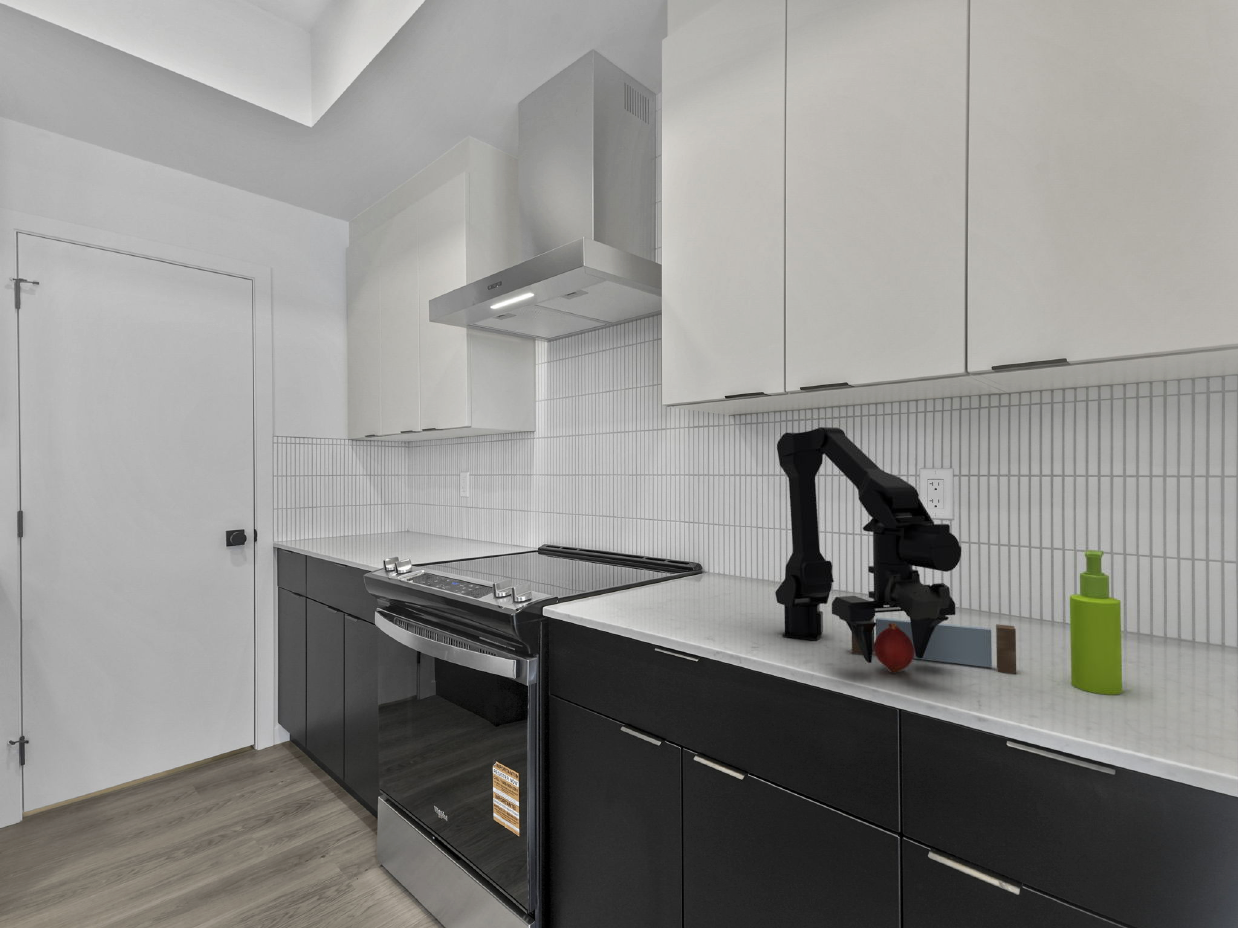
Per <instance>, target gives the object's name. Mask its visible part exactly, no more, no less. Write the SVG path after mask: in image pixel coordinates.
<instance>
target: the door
mask: <svg viewBox="0 0 1238 928" xmlns="http://www.w3.org/2000/svg"><path fill="white" fill-rule="evenodd" d="M871 621H873V622H875V623H877V624H876V626H875V628H874V629H873V630H872V654H875V651H874V643H875V639H876V638H877V636H878V635H879V634H880V633H881V632H882V631H883V630H885V629H887V628H889V626H888V625H889V624H890V623H895V624H896V625H897V626H898V628H899V629H900V630H902V631H903V632H904V633H905V634H906V635H907V636H908V637H909V638H910V640H911V642H912V644H913V638H912V630H911V623H910V620H907V619H897V618H896V619H895V618H886V617H884V618H883V617H874V618H873V619H872V620H871ZM913 647H914V645H913ZM992 658H993V655H992V629H991V628H990V627H983V626H982V627H981V626H979V627H978V626H973V625H972V626H971V625H958V624H949V623H940V624H938V625H937V626H936V627H935V629H934V631H933V633H932V635H931V637H930V640H929V643H928V645H927V648H926V650H925V653H924V655H923V658H918V657H916V654H915V650H914V658H913V659H920V660H929V661H934V662H935V661H936V662H937V661H938V662H944V663H952V664H953V663H954V664H961V665H969V666H970V665H971V666H978V667H979V666H980V667H986V668H993V667H992V666H993V661H992V660H993V659H992Z"/></svg>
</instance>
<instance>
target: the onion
mask: <svg viewBox="0 0 1238 928" xmlns="http://www.w3.org/2000/svg"><path fill="white" fill-rule="evenodd" d="M888 626H889V628H887V629H885V630H883V631H882V632H881V633H880V634H879V635H878V636H877V638H876V637H875V639H874V651H875V652H874V654H875V655H874V656H875V657H876V659H877V660H878V661H879V662H880V663H881V664H882V665H883V666H884V667H885V668H886V669H887V670H888V671H889V672H890V673H891V674H898V673H900V672H901V671H903V670H904V669H906V668H908V666H910V665H911V663H912V662H913V660H914V659H915V658H914V647H913V644H912V642H911V640H910V638H909V637H908V636H907V635H906V634H905V633H904V632H903V631H902V630H900V629H899V628H898V626H897V625H896V624H895V623H890V624H889V625H888Z"/></svg>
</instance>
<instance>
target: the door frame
mask: <svg viewBox="0 0 1238 928" xmlns="http://www.w3.org/2000/svg"><path fill="white" fill-rule="evenodd" d="M995 630H996V631H995V633H996V634H995V637H996V640H995V642H996V648H995V649H996V669H997V672H998V673H1005V674H1012V675H1016V674H1017V637H1016V636H1017V634H1016V633H1017V632H1016V628H1015V626H1014V625H1008V624H997V623H996V624H995ZM851 654H855V655H862V652H861V650H860V648H859V646H858V644H857V642H856V639H855V637H854V635H853V633H852V632H851Z"/></svg>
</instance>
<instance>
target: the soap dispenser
mask: <svg viewBox="0 0 1238 928" xmlns="http://www.w3.org/2000/svg"><path fill="white" fill-rule="evenodd" d="M1104 555H1105V554H1104V551H1103V550H1094V549H1093V550H1092V549H1087V550H1085V552H1084V557H1085V558H1086V571H1083V572H1081V573H1079V594H1078V593H1077V594H1071V595H1069V626H1070V627H1069V628H1070V632H1069V633H1070V636H1069V637H1070V680H1071V681H1070V684H1071V685H1072V686H1073V687H1075V688H1077V689H1078V690H1081V691H1084V692H1089V693H1093V694H1099V695H1108V696H1110V695H1113V696H1115V695H1120V694H1122V693H1123V671H1122V670H1123V669H1122V668H1123V665H1122V663H1123V662H1122V615H1121V614H1122V613H1121V610H1122V609H1121V603H1122V602H1121V600H1119V599H1117V598H1114V597H1111V596H1110V576H1109V575H1108V574H1105V572H1102V558H1103V556H1104Z"/></svg>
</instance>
